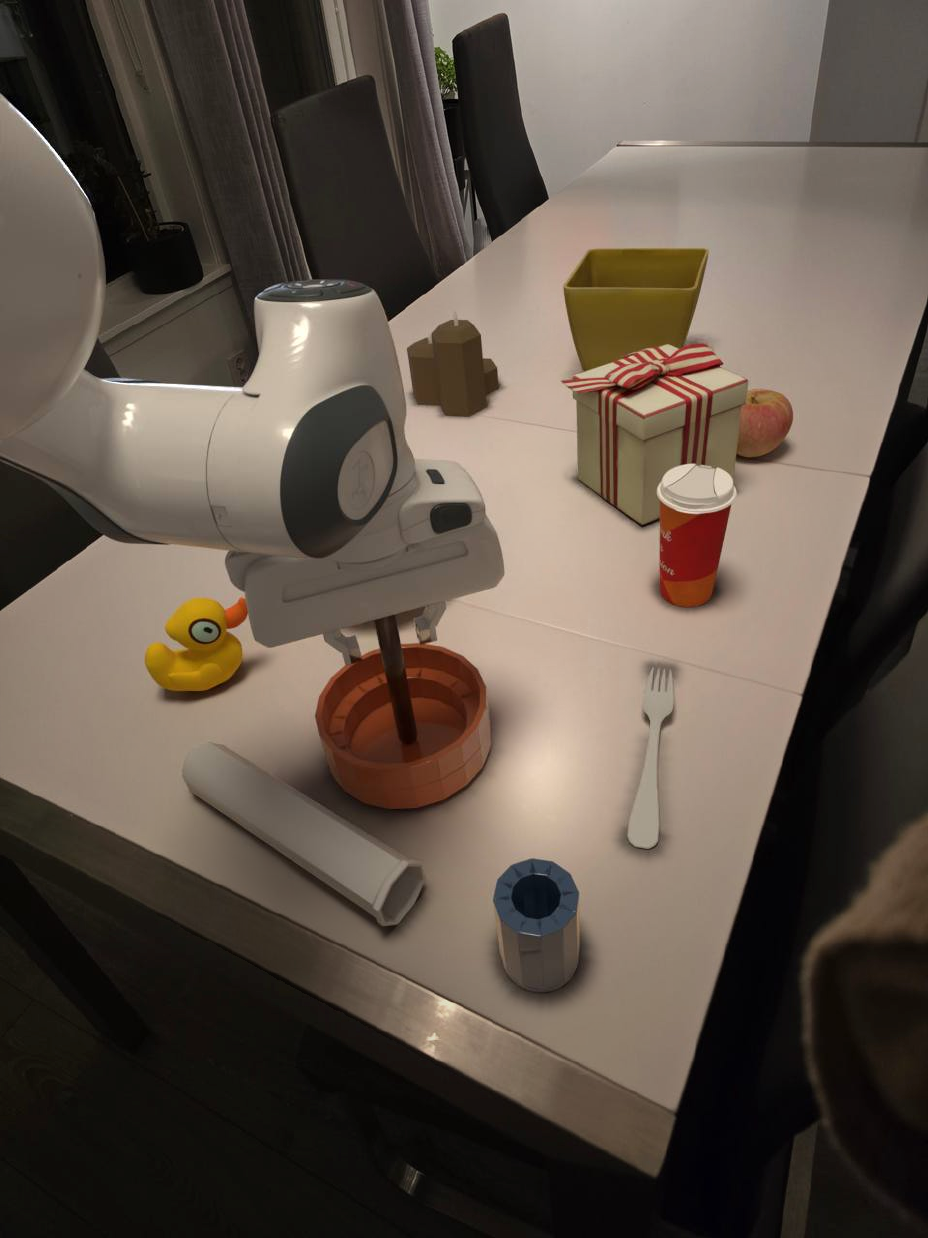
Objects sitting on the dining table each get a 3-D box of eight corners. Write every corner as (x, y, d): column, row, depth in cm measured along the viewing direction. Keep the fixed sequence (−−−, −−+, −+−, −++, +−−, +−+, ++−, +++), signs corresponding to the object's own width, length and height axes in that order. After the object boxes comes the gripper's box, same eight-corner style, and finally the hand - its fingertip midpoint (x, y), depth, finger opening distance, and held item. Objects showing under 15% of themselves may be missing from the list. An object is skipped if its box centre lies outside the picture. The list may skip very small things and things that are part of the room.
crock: (517, 1004, 56) (510, 947, 51) (491, 933, 60) (483, 874, 55) (591, 977, 57) (592, 919, 52) (560, 909, 61) (558, 848, 56)
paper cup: (662, 563, 93) (671, 455, 83) (730, 578, 89) (747, 467, 80) (639, 604, 88) (646, 493, 78) (710, 621, 84) (726, 508, 75)
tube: (158, 772, 70) (369, 917, 58) (197, 722, 72) (410, 852, 60) (191, 795, 75) (395, 935, 62) (228, 747, 76) (433, 873, 64)
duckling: (263, 646, 88) (238, 574, 82) (272, 677, 84) (247, 603, 78) (158, 680, 86) (124, 607, 79) (163, 713, 82) (127, 640, 75)
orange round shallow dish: (346, 835, 68) (331, 791, 64) (317, 712, 80) (304, 669, 76) (514, 782, 71) (510, 737, 67) (463, 670, 82) (457, 626, 78)
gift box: (642, 436, 115) (649, 316, 104) (741, 487, 103) (760, 357, 92) (547, 477, 109) (543, 354, 98) (639, 537, 97) (647, 404, 86)
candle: (511, 407, 126) (505, 311, 117) (426, 424, 125) (413, 328, 115) (489, 374, 137) (482, 283, 127) (411, 389, 135) (398, 298, 125)
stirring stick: (401, 750, 74) (372, 608, 63) (397, 736, 75) (367, 595, 65) (420, 744, 74) (394, 602, 63) (415, 731, 76) (389, 589, 65)
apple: (796, 445, 109) (807, 390, 104) (764, 473, 105) (774, 417, 100) (738, 429, 114) (745, 375, 109) (704, 455, 110) (711, 400, 105)
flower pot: (588, 347, 141) (588, 246, 130) (699, 351, 136) (709, 246, 125) (563, 395, 128) (561, 287, 117) (686, 402, 122) (696, 289, 111)
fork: (623, 859, 67) (623, 843, 65) (647, 667, 80) (648, 649, 78) (657, 865, 66) (659, 849, 64) (676, 670, 79) (678, 652, 77)
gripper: (220, 568, 54) (271, 709, 63) (505, 497, 58) (515, 640, 67) (214, 521, 59) (262, 658, 68) (478, 457, 62) (491, 596, 71)
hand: (390, 648), depth 67 cm, fingers open, 5 cm apart
